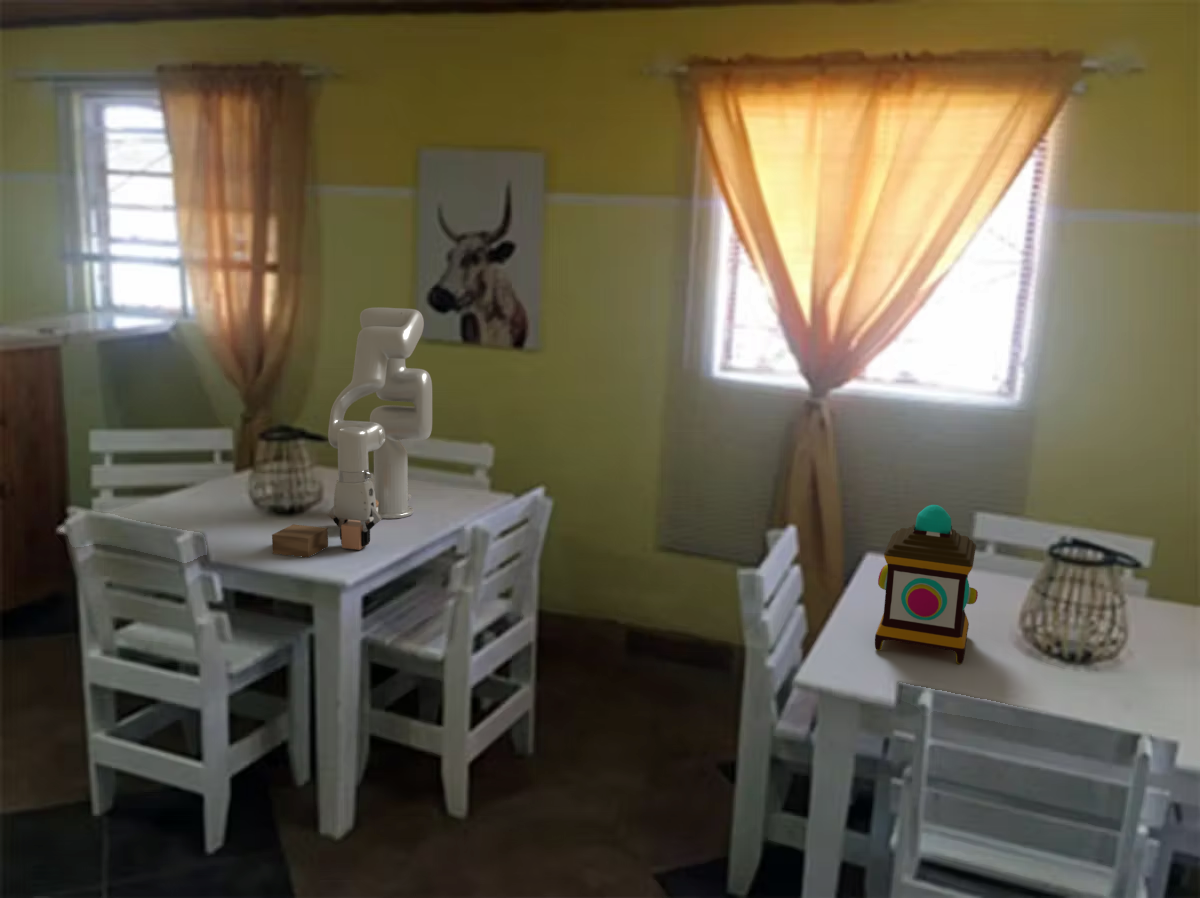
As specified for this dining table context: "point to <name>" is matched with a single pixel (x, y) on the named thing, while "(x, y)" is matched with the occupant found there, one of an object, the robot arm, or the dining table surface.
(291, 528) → the walnut block
